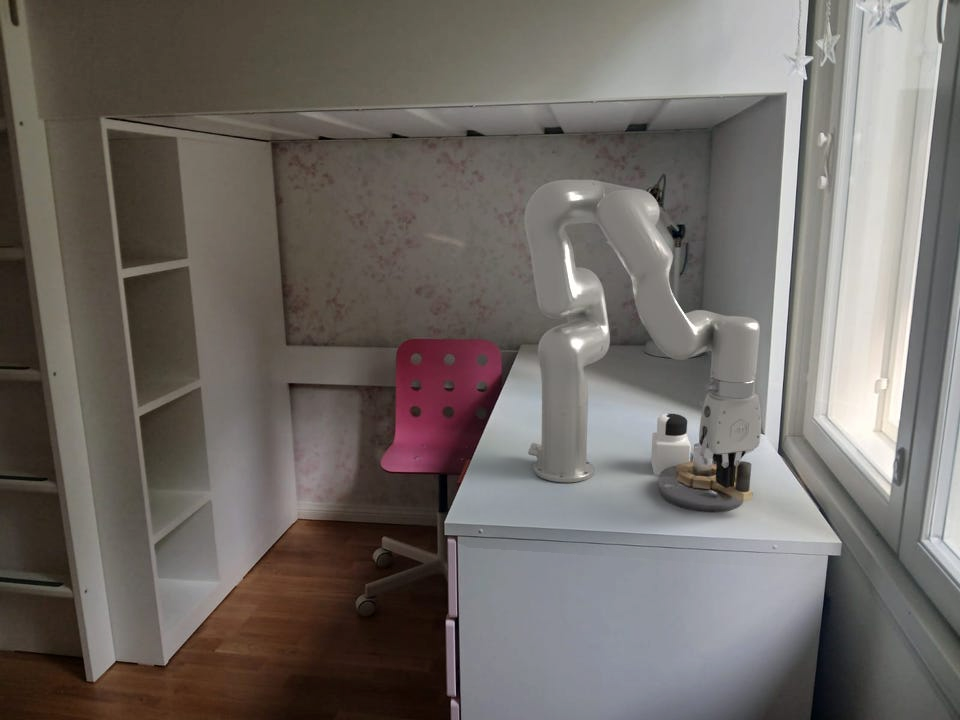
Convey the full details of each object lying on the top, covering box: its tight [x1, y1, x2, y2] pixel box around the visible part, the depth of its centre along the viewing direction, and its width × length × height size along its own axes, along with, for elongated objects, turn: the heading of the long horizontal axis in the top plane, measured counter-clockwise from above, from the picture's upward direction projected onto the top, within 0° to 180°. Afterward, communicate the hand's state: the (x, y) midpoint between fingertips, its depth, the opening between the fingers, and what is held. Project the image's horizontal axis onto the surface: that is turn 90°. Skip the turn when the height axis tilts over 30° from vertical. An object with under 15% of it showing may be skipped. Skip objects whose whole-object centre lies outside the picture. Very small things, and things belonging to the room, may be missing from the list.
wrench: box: [676, 460, 754, 503], centre depth 138 cm, size 16×10×7 cm, turn 28°
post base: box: [658, 442, 744, 513], centre depth 141 cm, size 16×16×10 cm
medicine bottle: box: [650, 413, 692, 476], centre depth 153 cm, size 7×7×12 cm
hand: (724, 484), depth 131 cm, fingers closed
